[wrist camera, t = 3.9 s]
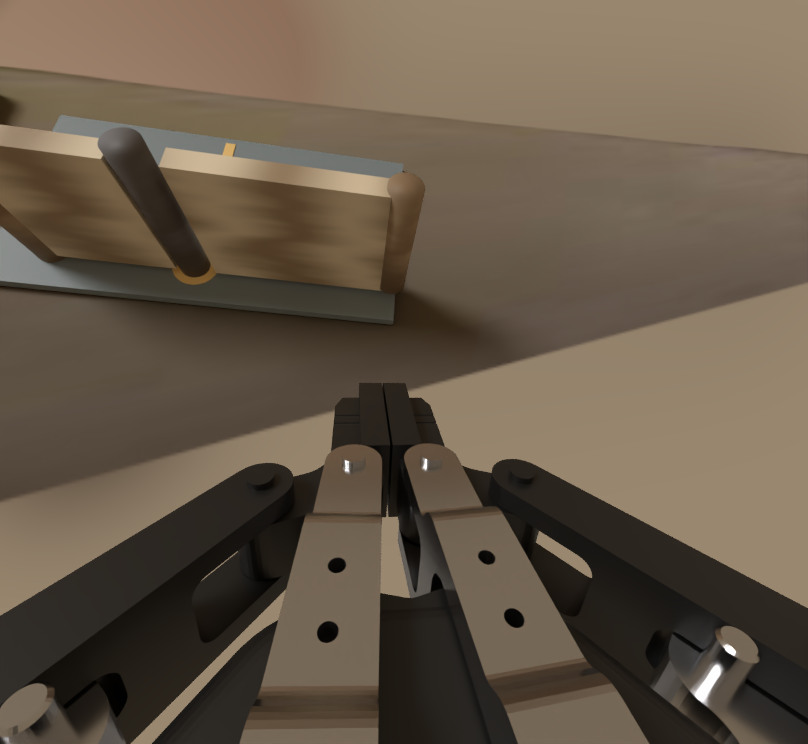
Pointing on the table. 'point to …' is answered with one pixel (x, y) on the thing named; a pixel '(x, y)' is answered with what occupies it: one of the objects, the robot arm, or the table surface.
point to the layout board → (19, 267)
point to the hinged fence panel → (297, 219)
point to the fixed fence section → (93, 200)
